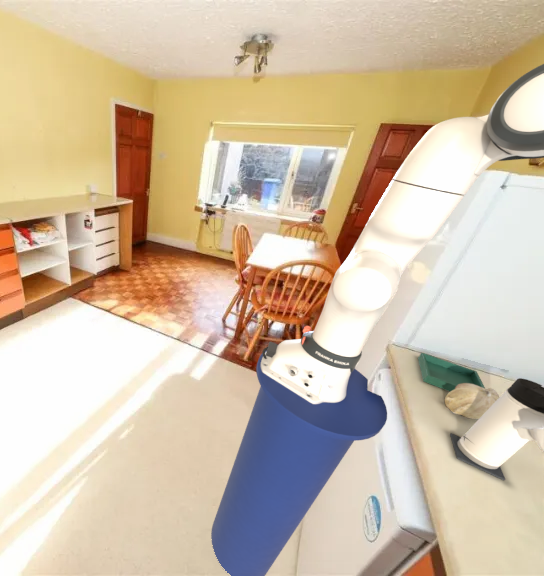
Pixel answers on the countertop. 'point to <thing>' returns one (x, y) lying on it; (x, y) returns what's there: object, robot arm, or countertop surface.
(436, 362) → the tray
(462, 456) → the mat
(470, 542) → the countertop surface
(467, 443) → the travel mug
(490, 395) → the garlic bulb
